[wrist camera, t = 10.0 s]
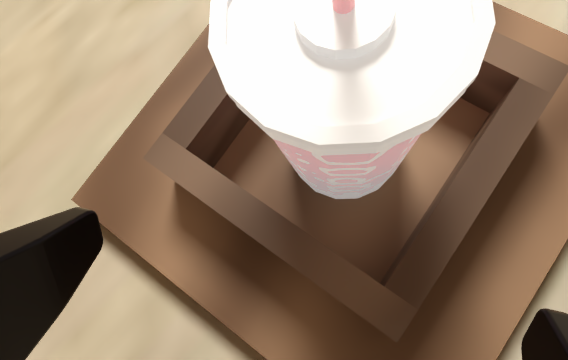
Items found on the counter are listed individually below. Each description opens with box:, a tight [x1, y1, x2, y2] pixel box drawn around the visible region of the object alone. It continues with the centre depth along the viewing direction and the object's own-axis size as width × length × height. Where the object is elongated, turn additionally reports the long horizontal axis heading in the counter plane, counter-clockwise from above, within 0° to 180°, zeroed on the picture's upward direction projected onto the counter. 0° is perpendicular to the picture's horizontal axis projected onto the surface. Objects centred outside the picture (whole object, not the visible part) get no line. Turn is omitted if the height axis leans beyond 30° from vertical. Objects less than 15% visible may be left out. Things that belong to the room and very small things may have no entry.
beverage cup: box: [208, 0, 496, 199], centre depth 11 cm, size 6×6×14 cm
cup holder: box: [71, 1, 568, 360], centre depth 16 cm, size 18×18×4 cm
